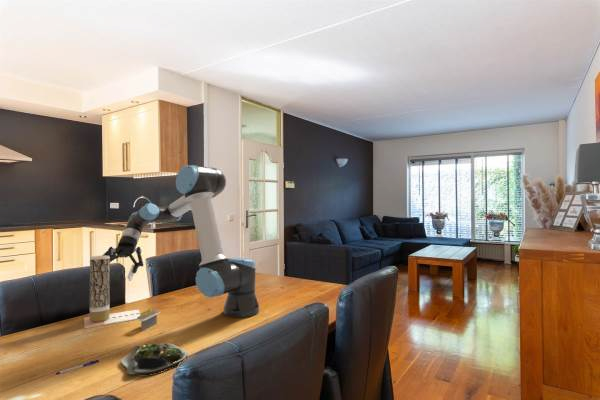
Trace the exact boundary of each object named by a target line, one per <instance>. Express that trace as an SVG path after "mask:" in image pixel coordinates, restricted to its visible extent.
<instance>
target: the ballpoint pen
mask: <svg viewBox="0 0 600 400" xmlns="http://www.w3.org/2000/svg"><path fill="white" fill-rule="evenodd" d="M99 362H100V360H99V359H95V360H91V361H90V360H89V361H88V362H86V363H83V364H81V365H77V366H74V367H70V368H68V369H63V370H60V371H58V372H55V374H56V375H59V374H64V373H67V372H70V371H73V369H74V370H76V369H77V370H78V369H80V368H85V367H87V366H91V365H93V364H96V363H99ZM66 371H67V372H66ZM63 372H64V373H63Z"/></svg>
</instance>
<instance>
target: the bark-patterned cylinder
mask: <svg viewBox="0 0 600 400" xmlns="http://www.w3.org/2000/svg"><path fill="white" fill-rule="evenodd" d="M110 271H111V262H110V256H106V255H104V256H102V255H95V256H90V257H89V317H90V321H91V322H101V321H105V320H107V319H108V318H109V314H110V306H111V305H110V302H111V301H110V300H111V299H110V298H111V297H110V296H111V295H110V293H111V292H110V290H111V289H110V288H111V286H110V284H111V282H110V280H111V278H110V277H111V275H110V274H111V272H110Z"/></svg>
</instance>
